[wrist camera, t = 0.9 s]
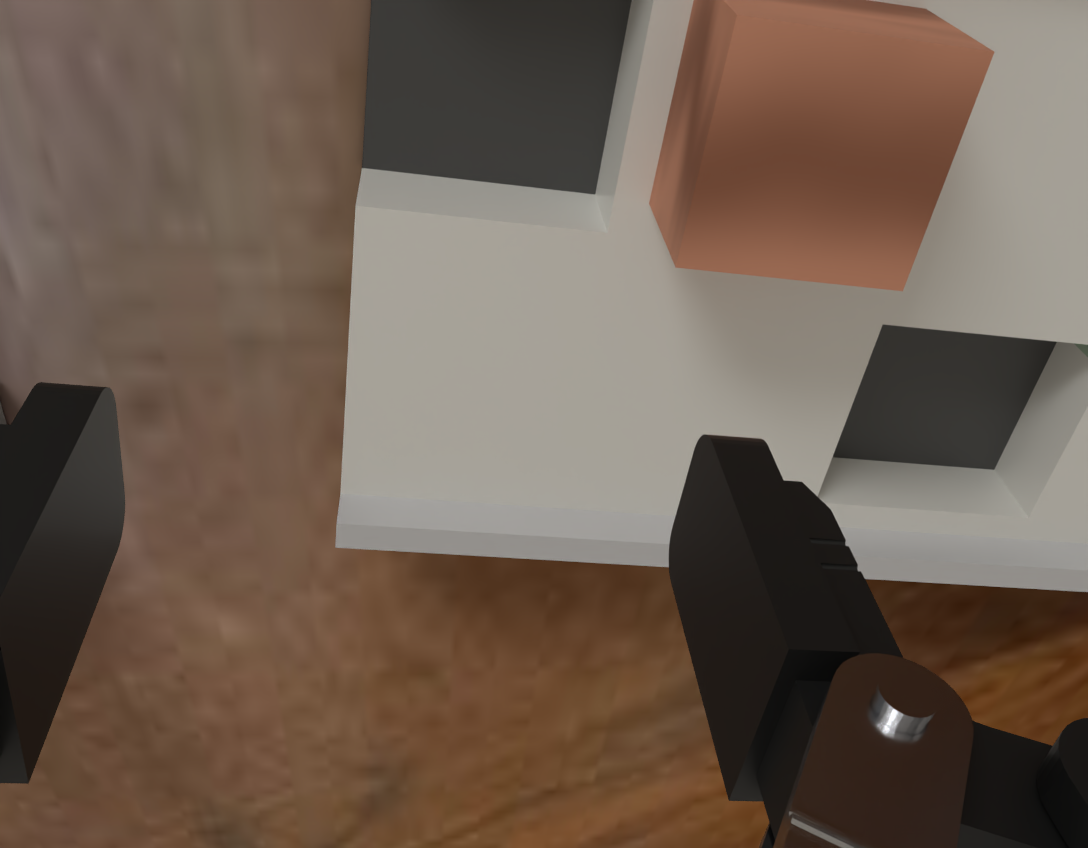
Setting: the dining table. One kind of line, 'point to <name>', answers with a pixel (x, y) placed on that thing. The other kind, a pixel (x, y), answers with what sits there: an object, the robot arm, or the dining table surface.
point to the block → (812, 137)
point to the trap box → (702, 310)
